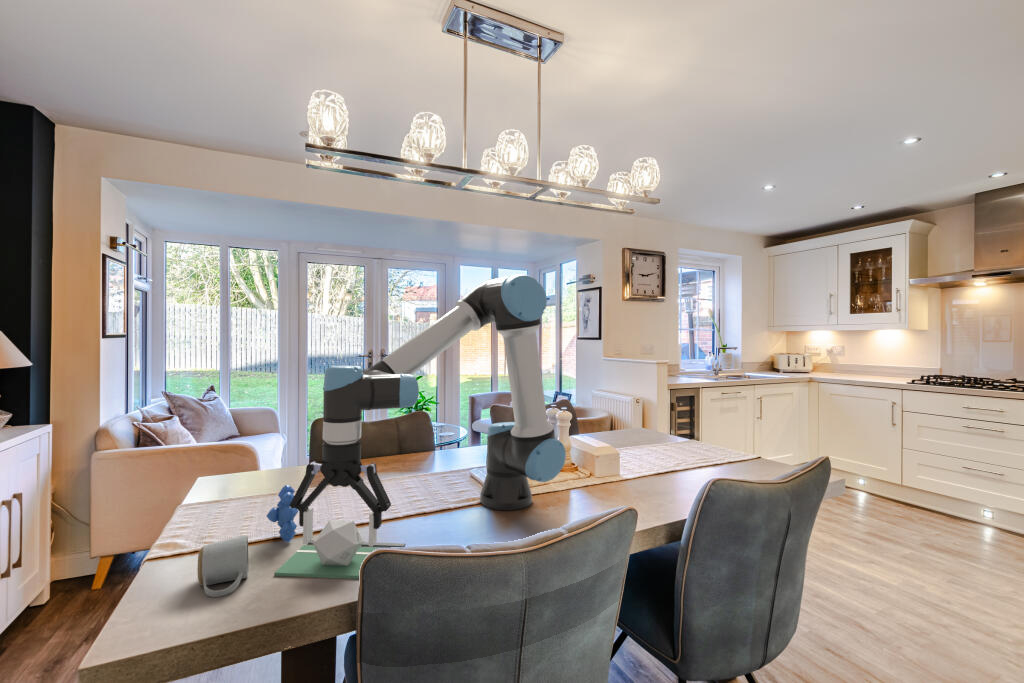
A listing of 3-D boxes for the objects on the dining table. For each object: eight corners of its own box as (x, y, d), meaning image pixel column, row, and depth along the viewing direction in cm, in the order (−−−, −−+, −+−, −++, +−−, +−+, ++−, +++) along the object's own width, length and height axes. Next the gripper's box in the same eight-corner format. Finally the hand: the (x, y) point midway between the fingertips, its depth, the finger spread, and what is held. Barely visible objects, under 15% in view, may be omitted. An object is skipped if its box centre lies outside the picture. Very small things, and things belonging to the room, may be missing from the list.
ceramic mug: (200, 575, 90) (201, 536, 90) (248, 566, 94) (249, 529, 94) (194, 604, 81) (194, 561, 80) (247, 593, 85) (248, 551, 84)
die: (331, 581, 89) (364, 534, 92) (296, 553, 91) (330, 508, 94) (346, 575, 97) (376, 532, 100) (314, 550, 99) (344, 508, 102)
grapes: (264, 532, 110) (265, 482, 110) (295, 526, 113) (296, 478, 113) (267, 552, 100) (268, 497, 100) (301, 545, 103) (302, 492, 103)
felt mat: (401, 551, 102) (401, 548, 102) (384, 579, 90) (385, 576, 90) (303, 547, 102) (303, 544, 102) (274, 575, 90) (274, 572, 90)
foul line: (404, 544, 105) (404, 543, 105) (403, 547, 104) (403, 545, 104) (310, 541, 106) (310, 540, 106) (307, 543, 104) (307, 542, 104)
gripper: (406, 438, 98) (404, 536, 99) (291, 434, 99) (290, 532, 99) (397, 446, 91) (394, 553, 91) (272, 442, 91) (270, 548, 92)
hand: (340, 542), depth 95 cm, fingers open, 13 cm apart
